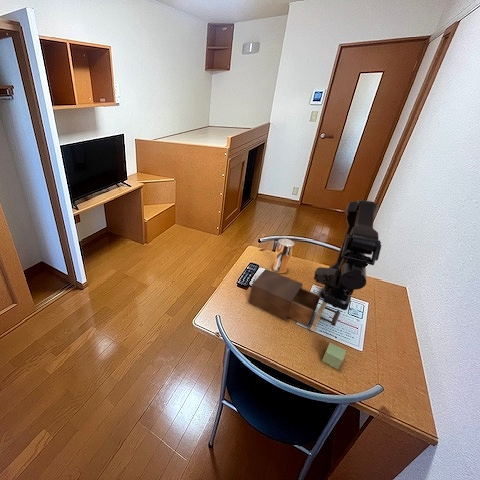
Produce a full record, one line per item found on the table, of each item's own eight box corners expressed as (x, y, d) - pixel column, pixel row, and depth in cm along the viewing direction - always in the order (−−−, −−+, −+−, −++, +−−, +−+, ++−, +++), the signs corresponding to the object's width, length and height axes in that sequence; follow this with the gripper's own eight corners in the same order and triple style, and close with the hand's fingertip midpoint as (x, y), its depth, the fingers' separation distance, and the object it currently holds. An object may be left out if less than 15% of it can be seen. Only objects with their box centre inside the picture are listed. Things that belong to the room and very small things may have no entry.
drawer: (337, 319, 95) (344, 303, 91) (329, 339, 87) (336, 323, 83) (286, 296, 105) (290, 281, 101) (275, 312, 98) (279, 297, 94)
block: (325, 351, 85) (329, 342, 82) (341, 359, 82) (346, 350, 80) (321, 360, 82) (325, 351, 79) (338, 369, 79) (342, 360, 77)
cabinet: (297, 302, 104) (303, 283, 99) (285, 320, 96) (291, 301, 91) (261, 286, 112) (265, 268, 107) (248, 302, 104) (251, 284, 100)
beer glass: (289, 274, 118) (296, 247, 111) (272, 273, 120) (279, 245, 112) (285, 265, 124) (293, 238, 116) (270, 264, 125) (276, 237, 118)
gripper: (328, 248, 90) (316, 282, 98) (312, 273, 78) (299, 310, 86) (367, 259, 83) (350, 295, 91) (356, 289, 72) (338, 328, 80)
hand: (334, 306), depth 87 cm, fingers closed
